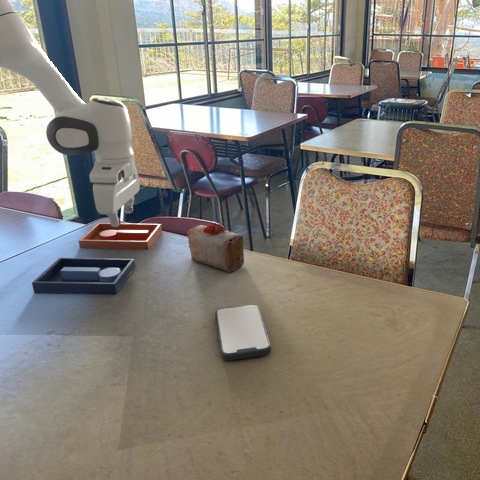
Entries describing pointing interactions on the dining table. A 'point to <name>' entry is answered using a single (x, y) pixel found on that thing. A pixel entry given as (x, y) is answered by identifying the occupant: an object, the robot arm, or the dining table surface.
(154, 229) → the terracotta tray
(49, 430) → the dining table surface
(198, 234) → the food item
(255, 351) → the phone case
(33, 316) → the dining table surface
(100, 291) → the navy tray
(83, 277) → the blue spoon
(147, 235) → the red spoon
